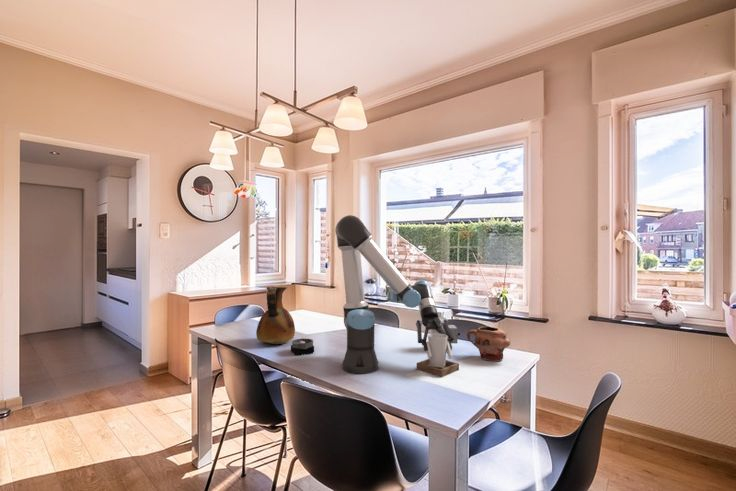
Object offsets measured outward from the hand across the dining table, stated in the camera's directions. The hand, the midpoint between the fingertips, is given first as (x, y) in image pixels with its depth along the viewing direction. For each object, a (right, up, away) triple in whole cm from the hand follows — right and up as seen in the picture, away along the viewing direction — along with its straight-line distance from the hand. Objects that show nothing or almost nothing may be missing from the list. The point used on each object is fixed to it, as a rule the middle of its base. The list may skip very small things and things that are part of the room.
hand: (440, 357), depth 141 cm
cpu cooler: (-61, -6, +27) cm, 67 cm away
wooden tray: (0, -6, +3) cm, 7 cm away
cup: (-1, -4, +3) cm, 6 cm away
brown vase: (-78, -6, +43) cm, 90 cm away
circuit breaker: (+9, -7, +34) cm, 36 cm away
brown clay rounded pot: (+26, -7, +19) cm, 33 cm away
